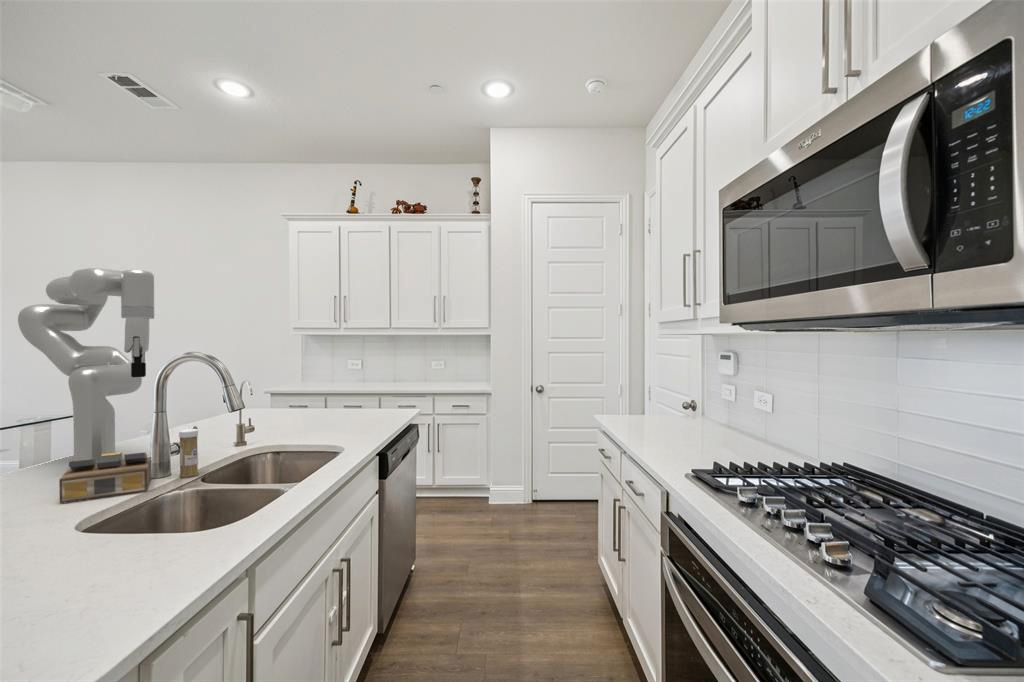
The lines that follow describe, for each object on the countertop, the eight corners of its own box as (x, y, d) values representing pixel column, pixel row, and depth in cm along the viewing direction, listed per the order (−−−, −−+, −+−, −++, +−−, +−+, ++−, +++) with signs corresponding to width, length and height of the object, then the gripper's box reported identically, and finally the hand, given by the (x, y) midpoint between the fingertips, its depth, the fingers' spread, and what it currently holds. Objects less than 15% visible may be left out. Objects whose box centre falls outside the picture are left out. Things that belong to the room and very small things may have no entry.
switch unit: (72, 488, 128) (72, 465, 128) (151, 477, 138) (151, 457, 138) (59, 504, 116) (58, 479, 116) (146, 491, 126) (146, 469, 125)
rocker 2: (101, 461, 130) (101, 454, 129) (122, 459, 132) (121, 451, 132) (97, 470, 125) (97, 462, 124) (119, 468, 127) (118, 460, 127)
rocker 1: (74, 469, 126) (74, 460, 127) (95, 466, 129) (96, 458, 129) (68, 470, 121) (69, 461, 122) (91, 467, 124) (91, 458, 124)
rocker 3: (126, 464, 132) (127, 456, 133) (146, 462, 135) (147, 454, 135) (124, 462, 127) (124, 454, 128) (144, 460, 130) (145, 451, 130)
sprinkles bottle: (193, 477, 138) (192, 431, 138) (176, 478, 138) (175, 431, 137) (201, 472, 143) (201, 428, 142) (184, 473, 142) (184, 428, 142)
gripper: (124, 313, 142) (125, 375, 142) (117, 312, 129) (118, 379, 130) (156, 314, 146) (156, 374, 146) (152, 312, 134) (152, 378, 134)
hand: (138, 376), depth 138 cm, fingers closed
